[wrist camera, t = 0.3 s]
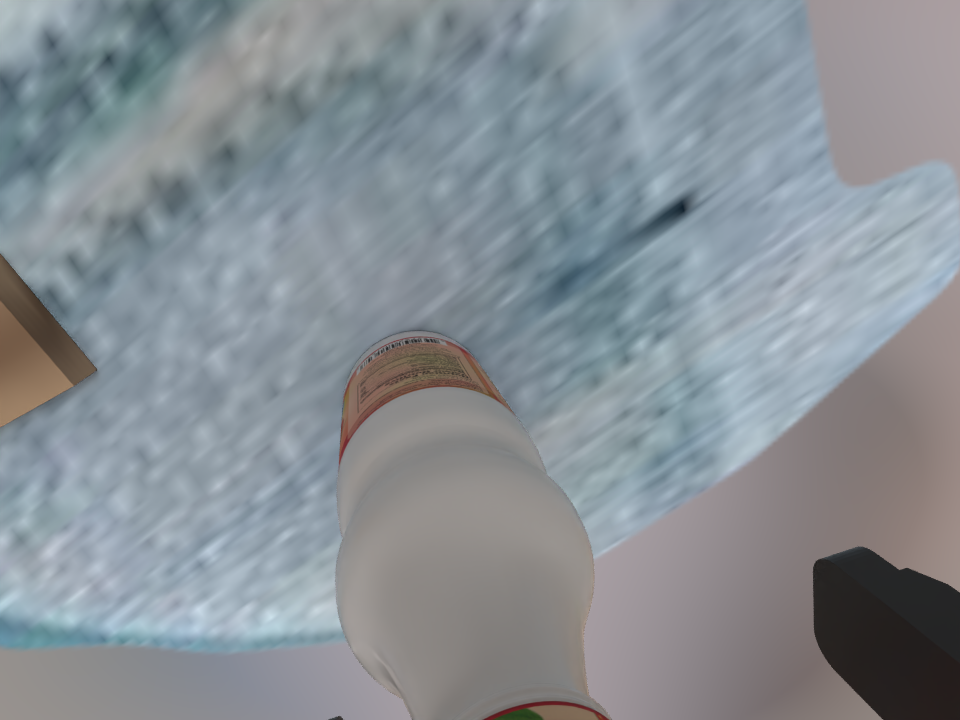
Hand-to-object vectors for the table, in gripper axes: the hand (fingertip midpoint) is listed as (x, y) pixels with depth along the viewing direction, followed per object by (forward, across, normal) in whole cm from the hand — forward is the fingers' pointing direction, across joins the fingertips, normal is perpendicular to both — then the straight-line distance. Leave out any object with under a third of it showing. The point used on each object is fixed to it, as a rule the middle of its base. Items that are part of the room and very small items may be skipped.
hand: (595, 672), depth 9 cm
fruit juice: (+30, +1, +6) cm, 30 cm away
